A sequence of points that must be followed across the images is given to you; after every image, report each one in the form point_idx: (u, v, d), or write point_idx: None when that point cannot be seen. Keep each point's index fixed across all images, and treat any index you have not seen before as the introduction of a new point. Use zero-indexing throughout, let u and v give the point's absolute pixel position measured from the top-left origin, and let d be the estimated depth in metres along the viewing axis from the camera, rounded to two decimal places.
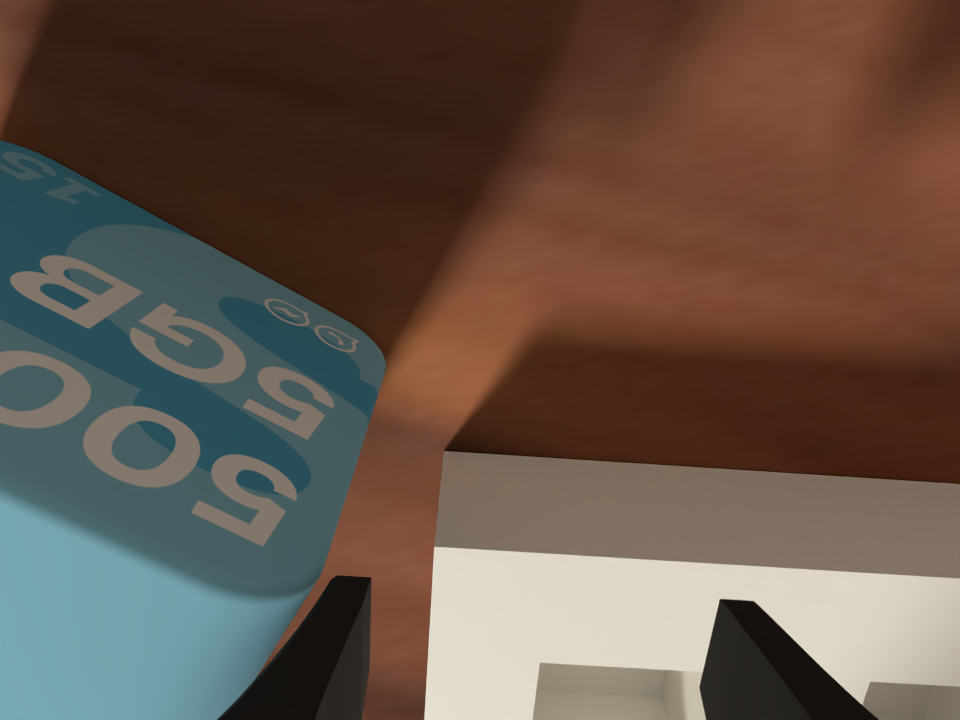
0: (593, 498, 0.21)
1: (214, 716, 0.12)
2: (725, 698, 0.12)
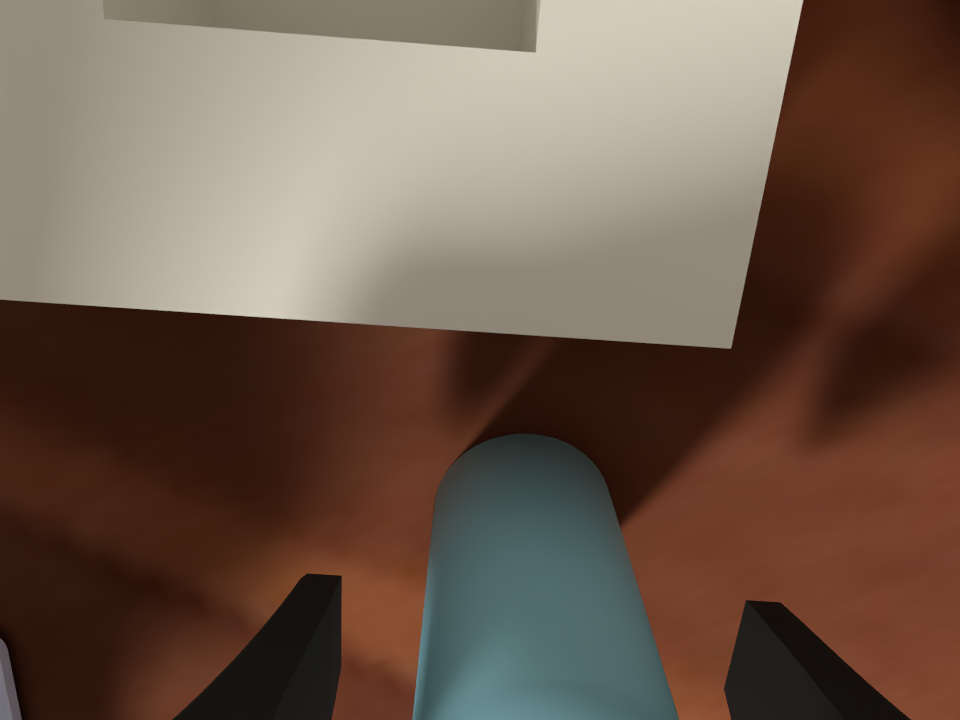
0: None
1: None
2: (752, 700, 0.12)
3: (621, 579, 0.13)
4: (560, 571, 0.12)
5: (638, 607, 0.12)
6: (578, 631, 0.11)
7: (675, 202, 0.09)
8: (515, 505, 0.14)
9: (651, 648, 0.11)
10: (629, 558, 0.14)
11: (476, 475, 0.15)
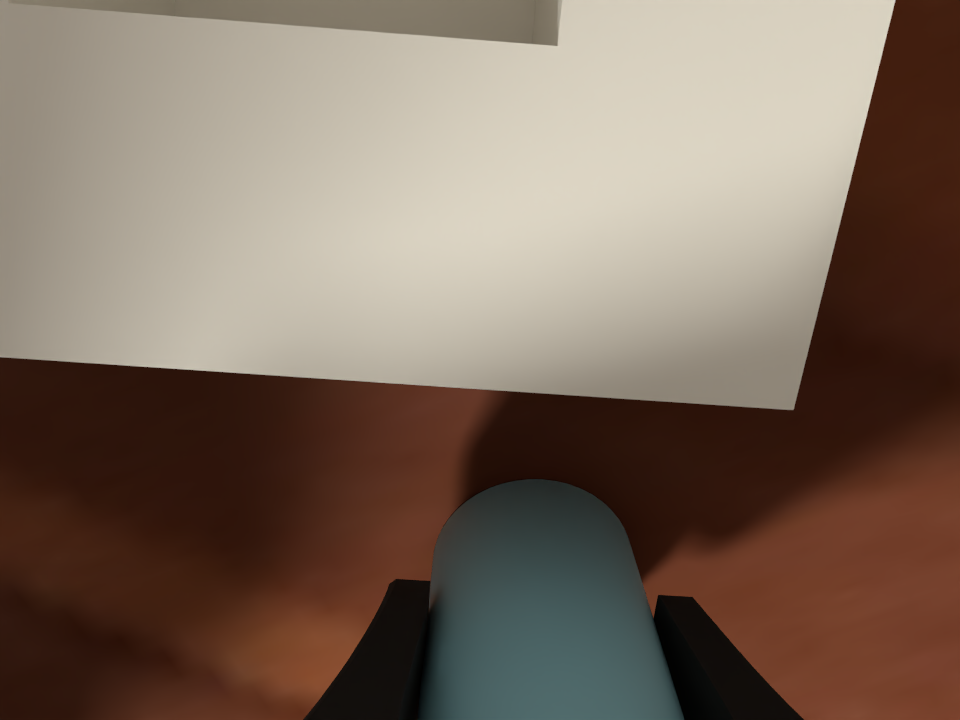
0: None
1: None
2: None
3: (651, 666, 0.11)
4: (580, 664, 0.10)
5: (672, 702, 0.10)
6: None
7: (730, 233, 0.08)
8: (526, 573, 0.12)
9: None
10: (656, 630, 0.12)
11: (480, 530, 0.13)
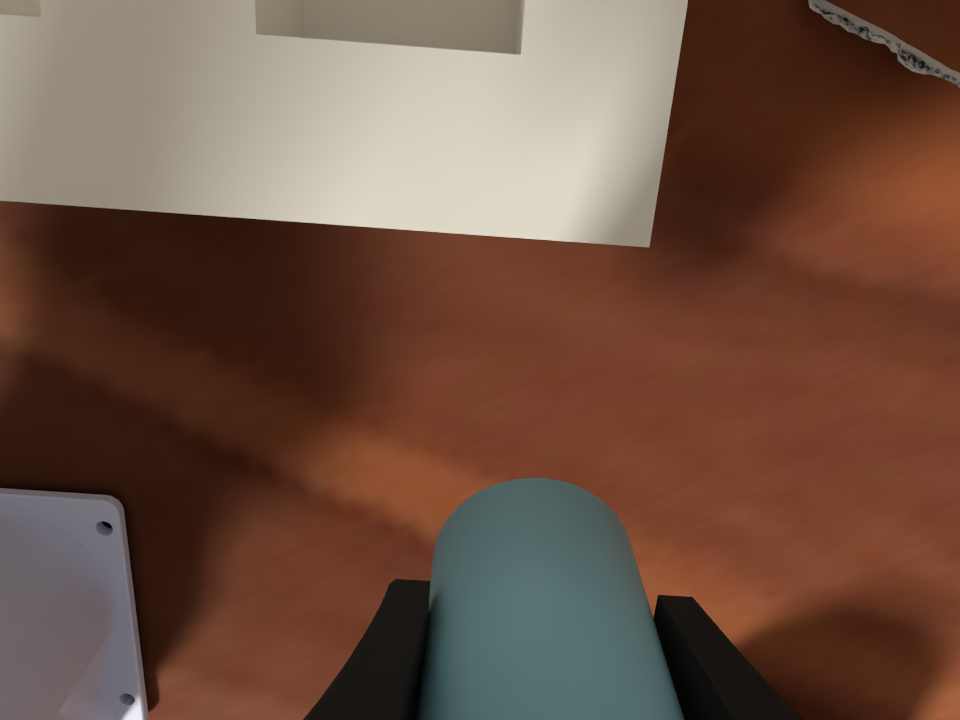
0: None
1: None
2: None
3: (651, 665, 0.11)
4: (579, 661, 0.10)
5: (671, 700, 0.10)
6: None
7: (610, 149, 0.15)
8: (525, 571, 0.12)
9: None
10: None
11: (480, 529, 0.13)
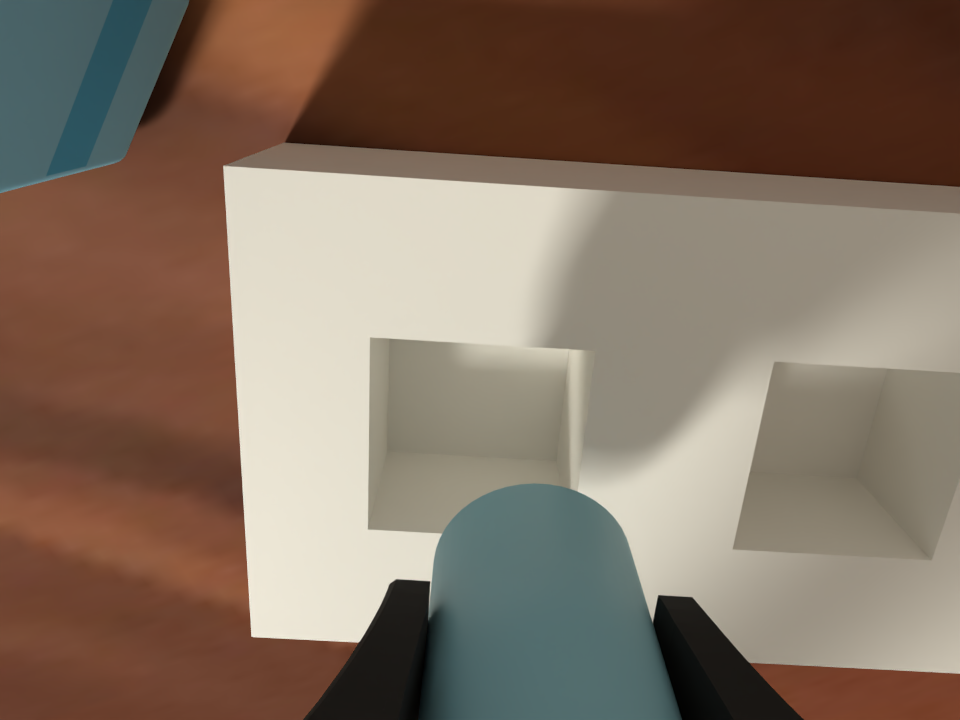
0: (445, 163, 0.18)
1: None
2: None
3: (644, 666, 0.11)
4: (569, 668, 0.10)
5: (665, 701, 0.10)
6: None
7: None
8: (516, 579, 0.12)
9: None
10: (653, 628, 0.12)
11: (474, 539, 0.13)
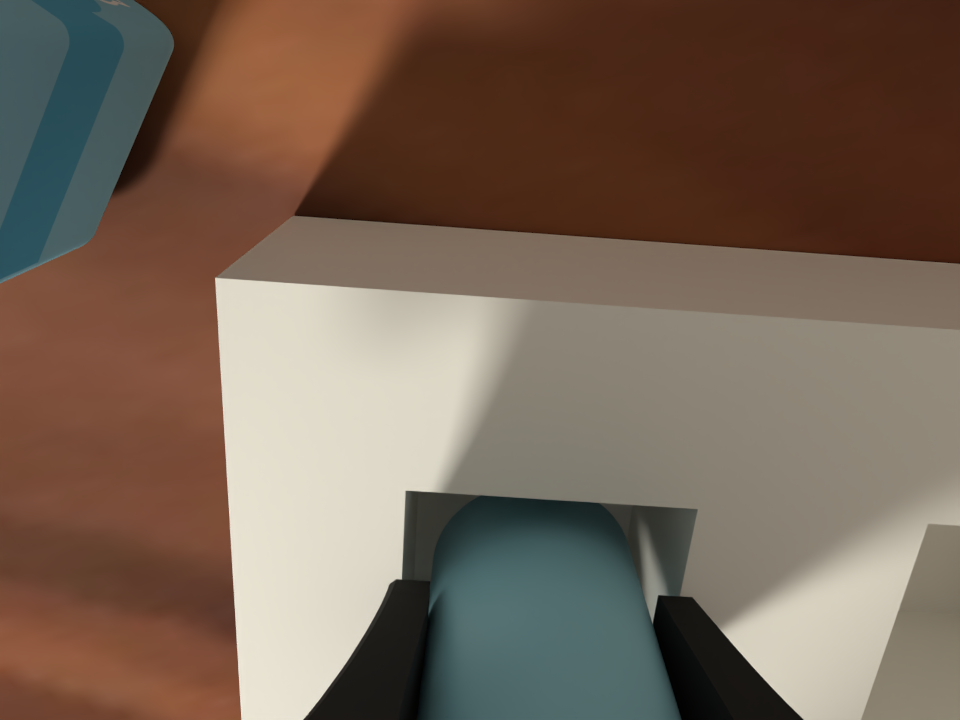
0: (500, 255, 0.14)
1: None
2: None
3: (643, 664, 0.11)
4: (567, 667, 0.10)
5: (664, 699, 0.10)
6: None
7: None
8: (515, 579, 0.12)
9: None
10: (652, 626, 0.12)
11: (473, 538, 0.13)
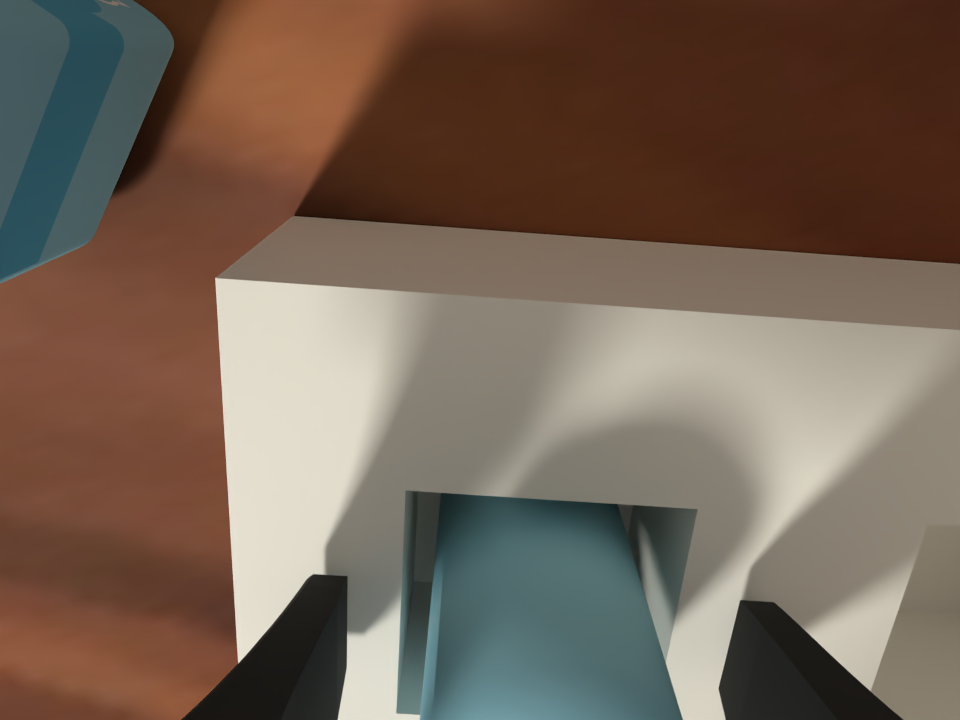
0: (500, 255, 0.14)
1: None
2: (746, 699, 0.12)
3: (616, 561, 0.13)
4: (554, 557, 0.12)
5: (633, 587, 0.13)
6: (571, 614, 0.11)
7: None
8: (511, 497, 0.14)
9: (645, 626, 0.12)
10: (628, 541, 0.15)
11: None
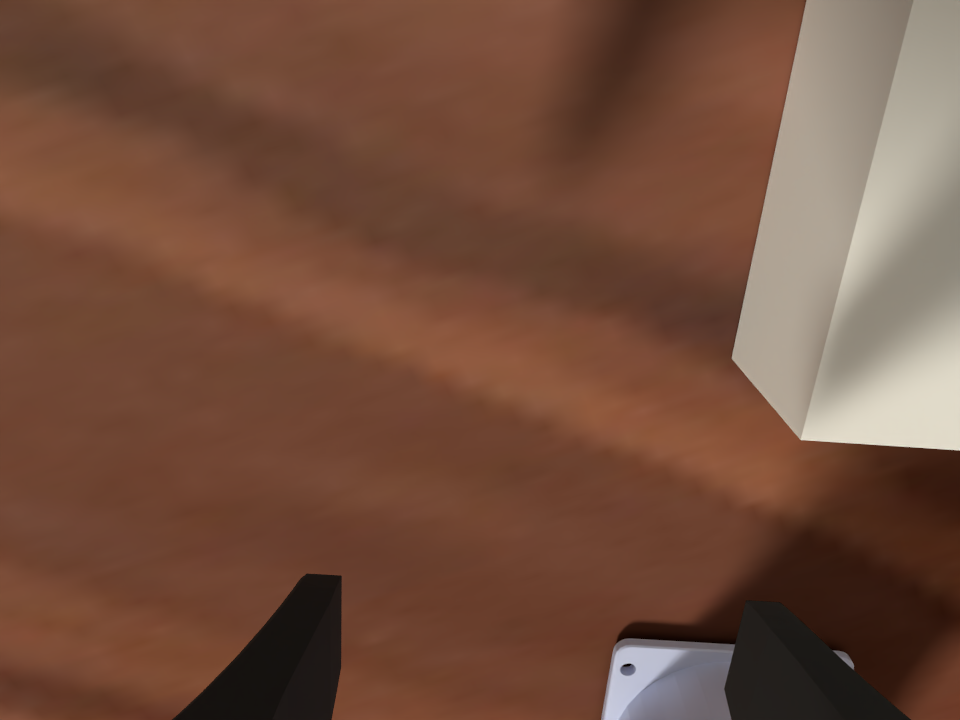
0: None
1: None
2: (752, 700, 0.12)
3: None
4: None
5: None
6: None
7: None
8: None
9: None
10: None
11: None
